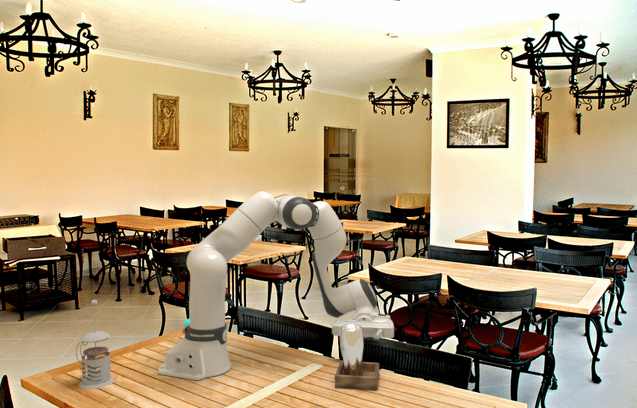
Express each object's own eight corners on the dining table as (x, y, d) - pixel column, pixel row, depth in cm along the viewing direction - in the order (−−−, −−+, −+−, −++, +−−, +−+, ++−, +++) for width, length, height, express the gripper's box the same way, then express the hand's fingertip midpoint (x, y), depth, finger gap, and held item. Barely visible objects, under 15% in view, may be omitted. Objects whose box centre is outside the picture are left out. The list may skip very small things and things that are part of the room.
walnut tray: (335, 387, 143) (334, 375, 143) (340, 371, 155) (340, 360, 155) (376, 390, 141) (376, 378, 141) (379, 374, 153) (379, 363, 153)
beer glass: (364, 381, 144) (361, 331, 143) (340, 381, 146) (337, 331, 145) (366, 372, 151) (363, 323, 150) (344, 371, 152) (341, 323, 152)
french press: (98, 390, 143) (95, 304, 142) (66, 386, 147) (63, 302, 145) (121, 377, 152) (119, 297, 151) (91, 373, 156) (88, 294, 155)
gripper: (334, 313, 172) (328, 325, 158) (394, 315, 168) (393, 327, 154) (334, 331, 172) (328, 344, 158) (394, 333, 168) (393, 347, 155)
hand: (360, 336), depth 156 cm, fingers open, 8 cm apart
